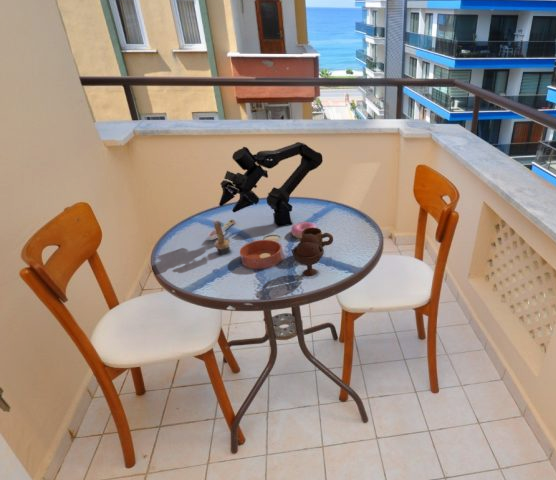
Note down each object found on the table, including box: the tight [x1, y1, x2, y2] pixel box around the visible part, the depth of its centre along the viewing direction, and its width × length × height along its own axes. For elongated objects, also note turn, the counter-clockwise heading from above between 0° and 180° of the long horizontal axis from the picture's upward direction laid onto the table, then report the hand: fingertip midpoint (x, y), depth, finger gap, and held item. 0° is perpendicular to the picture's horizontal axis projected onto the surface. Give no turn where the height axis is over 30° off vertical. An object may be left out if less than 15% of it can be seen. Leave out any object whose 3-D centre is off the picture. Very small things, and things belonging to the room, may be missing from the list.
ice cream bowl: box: [291, 234, 325, 277], centre depth 144 cm, size 11×11×15 cm
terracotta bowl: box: [239, 239, 284, 270], centre depth 156 cm, size 15×15×4 cm
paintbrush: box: [206, 219, 236, 241], centre depth 175 cm, size 4×3×20 cm
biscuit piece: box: [259, 253, 270, 258], centre depth 156 cm, size 4×4×1 cm
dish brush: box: [213, 220, 231, 256], centre depth 157 cm, size 5×5×13 cm
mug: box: [302, 227, 334, 249], centre depth 158 cm, size 12×8×9 cm, turn 82°
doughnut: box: [290, 221, 318, 239], centre depth 174 cm, size 11×11×4 cm
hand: (226, 208), depth 160 cm, fingers open, 9 cm apart
